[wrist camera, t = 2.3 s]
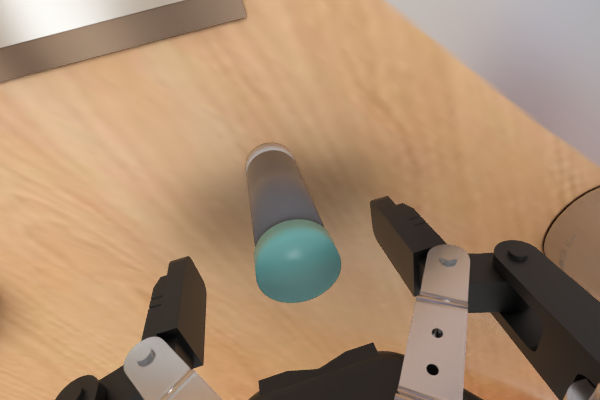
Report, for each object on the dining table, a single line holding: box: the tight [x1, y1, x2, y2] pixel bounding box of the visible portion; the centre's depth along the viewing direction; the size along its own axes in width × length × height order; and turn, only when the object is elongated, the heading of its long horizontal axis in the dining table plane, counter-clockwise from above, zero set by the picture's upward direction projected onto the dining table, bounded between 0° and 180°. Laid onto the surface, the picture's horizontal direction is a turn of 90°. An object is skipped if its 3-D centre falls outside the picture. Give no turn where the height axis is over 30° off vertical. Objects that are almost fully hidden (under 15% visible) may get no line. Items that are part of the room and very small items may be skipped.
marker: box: [246, 143, 341, 303], centre depth 17 cm, size 3×3×10 cm
